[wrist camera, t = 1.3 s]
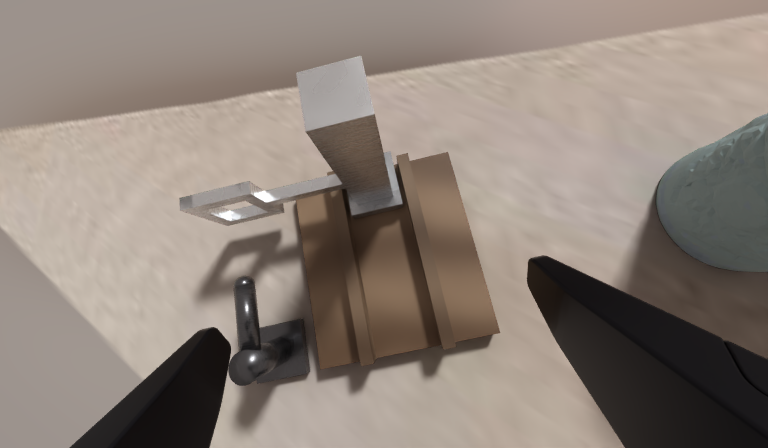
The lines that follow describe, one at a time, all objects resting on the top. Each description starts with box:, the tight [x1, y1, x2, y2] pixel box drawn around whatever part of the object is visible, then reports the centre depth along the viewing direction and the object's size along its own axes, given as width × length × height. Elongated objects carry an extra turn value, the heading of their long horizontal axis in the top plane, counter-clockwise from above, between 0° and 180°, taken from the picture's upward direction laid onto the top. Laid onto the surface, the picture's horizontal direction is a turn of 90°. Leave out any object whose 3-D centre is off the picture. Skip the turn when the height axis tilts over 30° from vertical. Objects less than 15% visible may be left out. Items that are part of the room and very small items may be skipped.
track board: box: [296, 152, 500, 370], centre depth 20 cm, size 13×12×3 cm
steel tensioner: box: [180, 56, 403, 226], centre depth 16 cm, size 4×13×10 cm, turn 102°
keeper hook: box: [228, 276, 310, 386], centre depth 18 cm, size 7×4×5 cm, turn 12°
